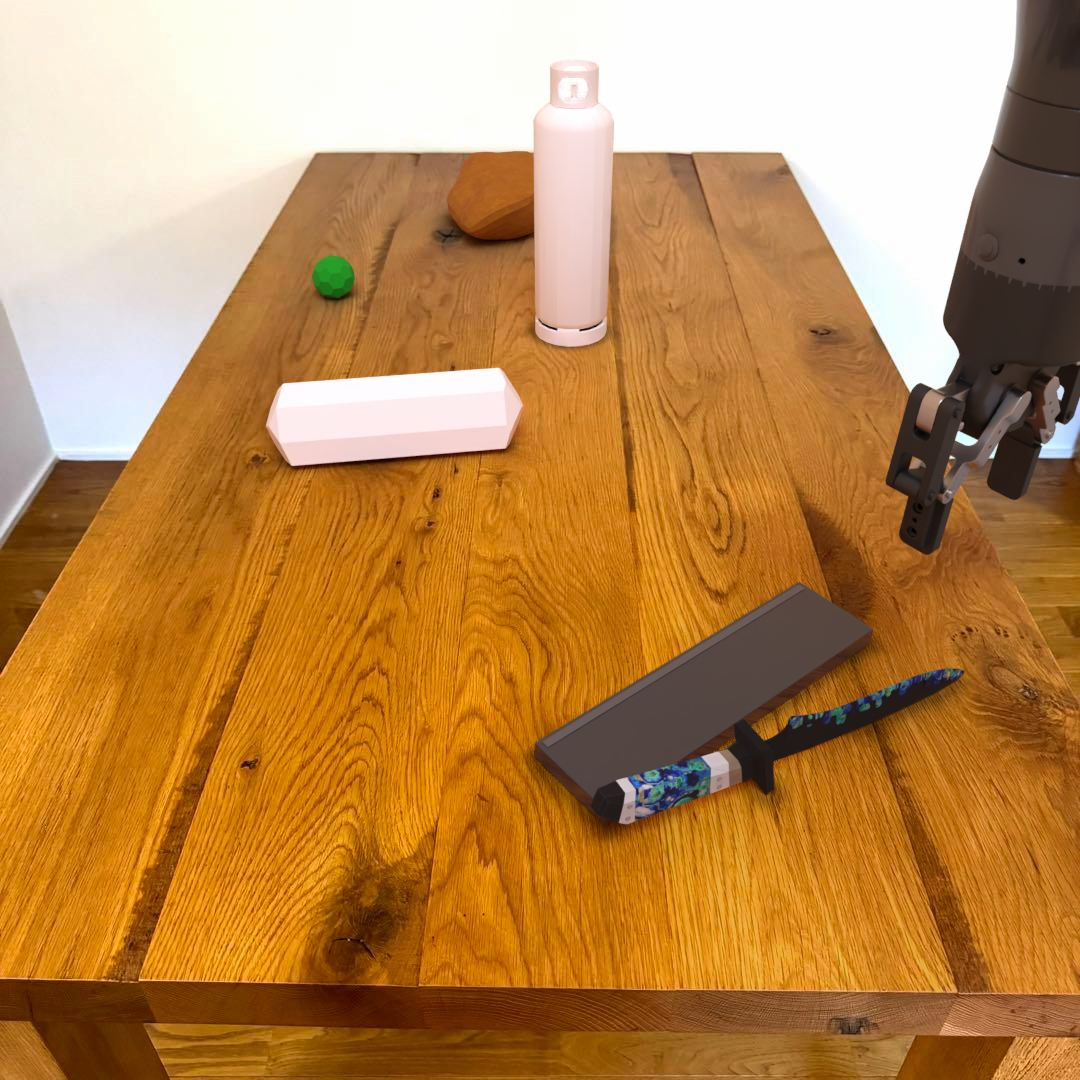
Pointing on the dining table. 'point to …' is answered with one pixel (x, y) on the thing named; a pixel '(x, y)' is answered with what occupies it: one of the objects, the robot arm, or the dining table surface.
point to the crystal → (394, 416)
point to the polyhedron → (333, 276)
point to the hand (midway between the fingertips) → (962, 518)
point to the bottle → (572, 209)
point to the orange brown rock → (494, 195)
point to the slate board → (704, 693)
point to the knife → (756, 752)
